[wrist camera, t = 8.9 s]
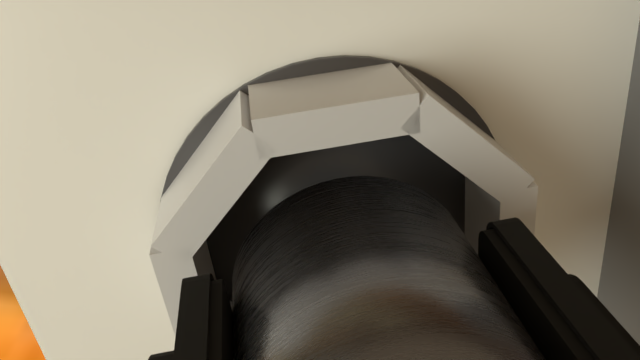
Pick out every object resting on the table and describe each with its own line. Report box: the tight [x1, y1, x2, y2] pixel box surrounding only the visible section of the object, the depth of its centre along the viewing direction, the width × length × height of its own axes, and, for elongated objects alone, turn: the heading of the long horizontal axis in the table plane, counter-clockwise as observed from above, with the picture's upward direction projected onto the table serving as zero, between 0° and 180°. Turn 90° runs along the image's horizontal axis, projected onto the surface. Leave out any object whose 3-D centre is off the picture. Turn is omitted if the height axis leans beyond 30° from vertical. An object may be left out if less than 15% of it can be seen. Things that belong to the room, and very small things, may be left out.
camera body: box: [0, 0, 640, 360], centre depth 16 cm, size 20×13×8 cm, turn 97°
